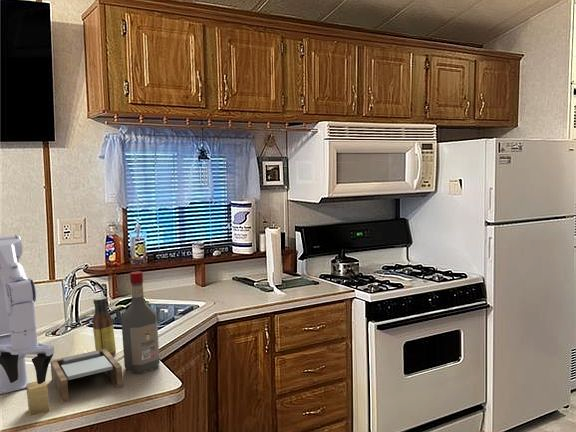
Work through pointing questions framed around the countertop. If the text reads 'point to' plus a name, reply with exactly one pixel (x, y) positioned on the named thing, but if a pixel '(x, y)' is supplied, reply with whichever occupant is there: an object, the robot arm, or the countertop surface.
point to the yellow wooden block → (37, 398)
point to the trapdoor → (85, 365)
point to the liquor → (139, 331)
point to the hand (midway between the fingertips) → (27, 381)
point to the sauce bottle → (103, 327)
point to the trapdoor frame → (61, 380)
